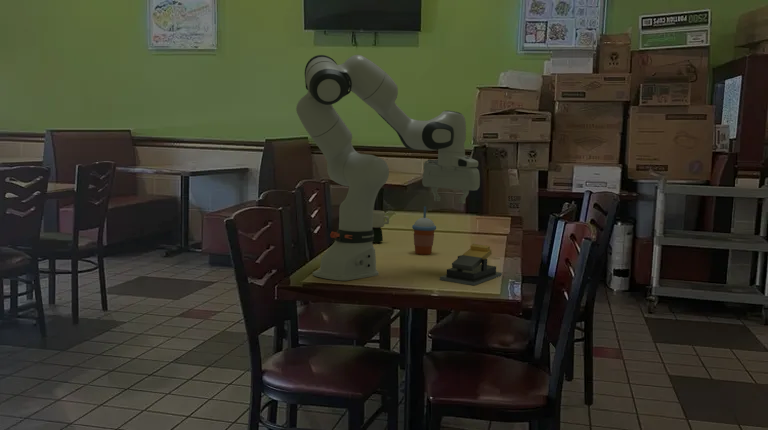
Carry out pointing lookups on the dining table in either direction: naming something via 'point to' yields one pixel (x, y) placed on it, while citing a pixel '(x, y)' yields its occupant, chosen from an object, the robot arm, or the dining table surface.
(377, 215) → the grey trophy cup
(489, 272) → the grey box with tabs
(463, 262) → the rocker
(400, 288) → the dining table surface
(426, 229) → the cup with straw
